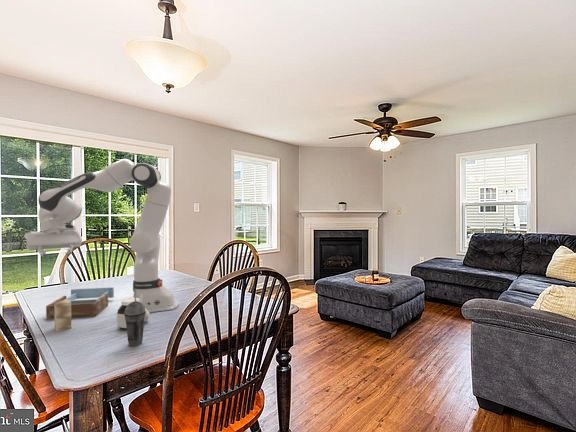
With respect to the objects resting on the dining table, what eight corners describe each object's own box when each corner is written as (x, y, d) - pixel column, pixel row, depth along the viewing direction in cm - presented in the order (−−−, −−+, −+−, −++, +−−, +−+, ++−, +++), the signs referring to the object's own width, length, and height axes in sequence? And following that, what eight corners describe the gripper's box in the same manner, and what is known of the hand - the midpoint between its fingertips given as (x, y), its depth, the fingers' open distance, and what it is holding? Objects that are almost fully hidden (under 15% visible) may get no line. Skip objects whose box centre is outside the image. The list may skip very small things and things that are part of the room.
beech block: (69, 325, 136) (68, 299, 136) (71, 328, 133) (71, 302, 132) (54, 328, 133) (54, 301, 132) (56, 331, 129) (56, 304, 129)
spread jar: (115, 332, 129) (115, 303, 129) (121, 322, 140) (121, 295, 139) (147, 328, 132) (147, 301, 132) (151, 319, 143) (150, 293, 143)
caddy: (63, 307, 159) (63, 295, 159) (107, 305, 164) (107, 293, 164) (46, 319, 143) (46, 306, 143) (95, 316, 147) (95, 303, 147)
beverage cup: (122, 349, 113) (121, 293, 113) (126, 341, 120) (126, 288, 120) (144, 347, 115) (143, 291, 115) (147, 338, 122) (147, 287, 122)
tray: (73, 298, 170) (73, 288, 170) (114, 296, 175) (114, 286, 175) (56, 309, 152) (56, 297, 152) (103, 306, 157) (102, 295, 156)
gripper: (24, 227, 139) (27, 252, 132) (79, 225, 153) (84, 247, 146) (23, 236, 142) (26, 261, 135) (77, 234, 156) (82, 256, 149)
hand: (57, 254), depth 141 cm, fingers open, 8 cm apart
